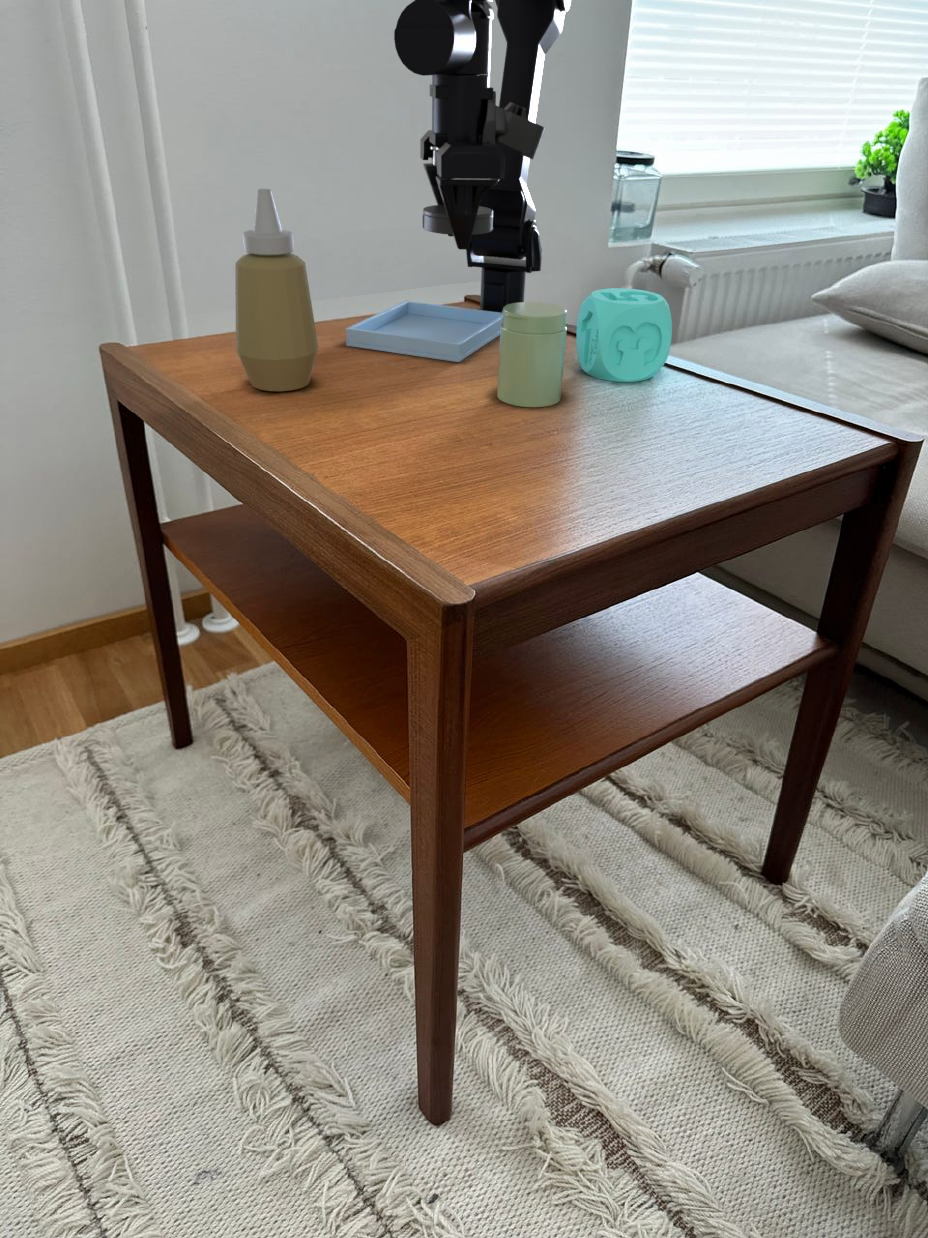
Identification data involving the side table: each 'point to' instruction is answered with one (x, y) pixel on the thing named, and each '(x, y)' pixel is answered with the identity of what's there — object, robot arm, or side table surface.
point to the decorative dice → (623, 334)
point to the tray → (426, 330)
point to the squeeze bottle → (273, 305)
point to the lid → (439, 222)
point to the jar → (531, 354)
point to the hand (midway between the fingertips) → (457, 242)
